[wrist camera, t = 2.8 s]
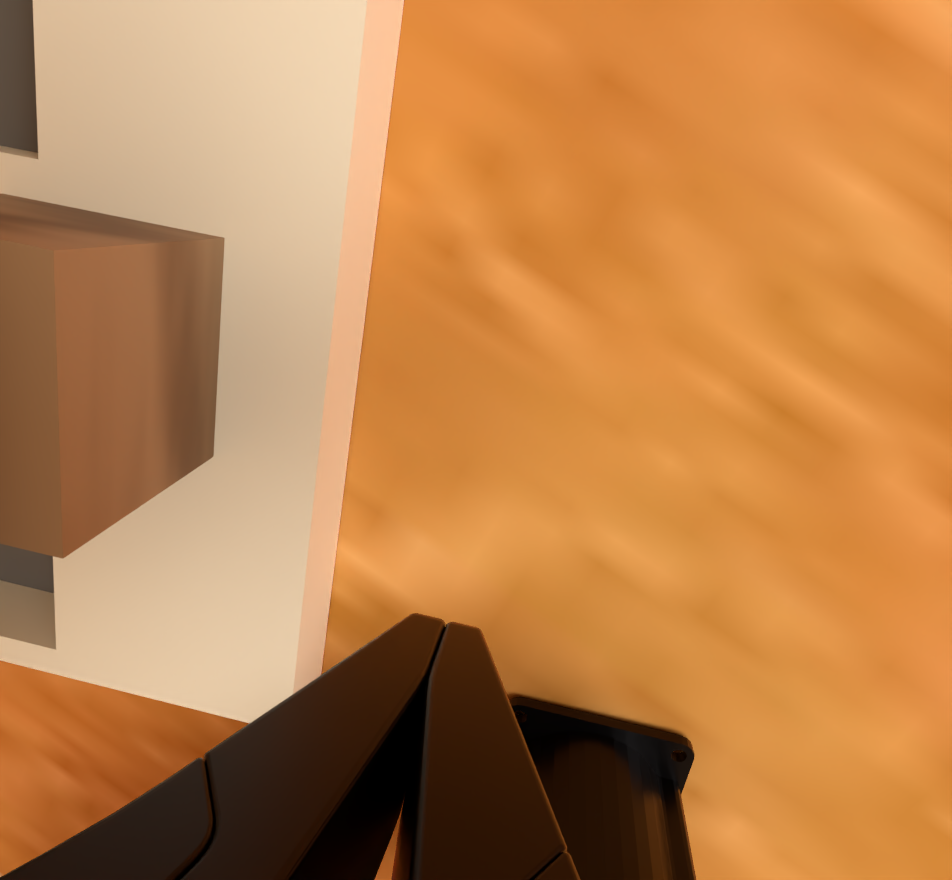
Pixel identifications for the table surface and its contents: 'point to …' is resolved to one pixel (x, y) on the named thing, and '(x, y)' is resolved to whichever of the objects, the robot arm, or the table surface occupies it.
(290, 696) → the robot arm
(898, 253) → the table surface
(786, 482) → the table surface
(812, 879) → the table surface
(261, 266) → the trap deck
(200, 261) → the walnut block
